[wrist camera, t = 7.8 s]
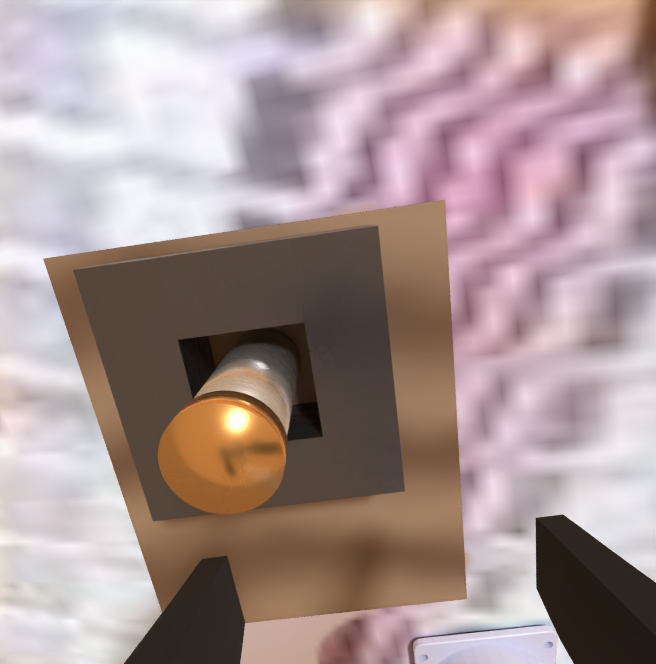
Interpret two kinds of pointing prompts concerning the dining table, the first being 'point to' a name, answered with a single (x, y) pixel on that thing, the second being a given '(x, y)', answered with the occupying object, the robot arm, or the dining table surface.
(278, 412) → the metal peg
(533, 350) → the dining table surface
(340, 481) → the socket block
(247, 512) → the walnut board
